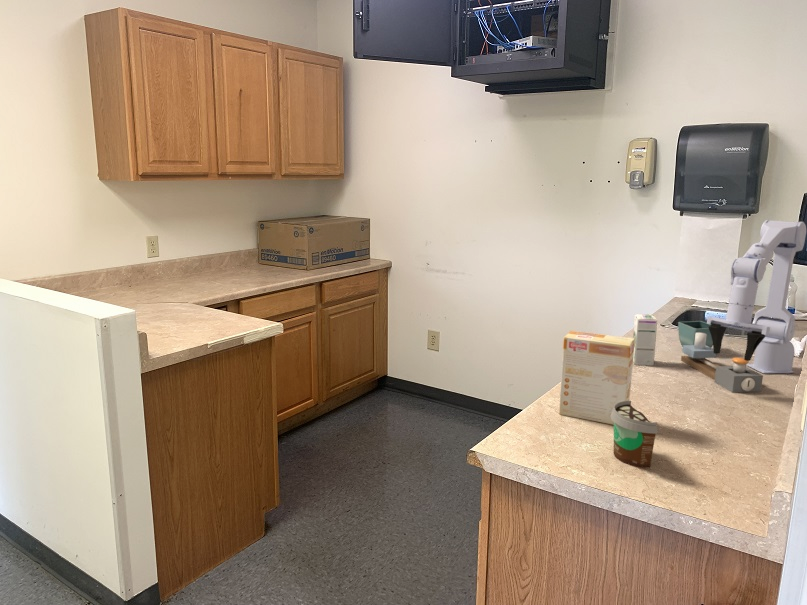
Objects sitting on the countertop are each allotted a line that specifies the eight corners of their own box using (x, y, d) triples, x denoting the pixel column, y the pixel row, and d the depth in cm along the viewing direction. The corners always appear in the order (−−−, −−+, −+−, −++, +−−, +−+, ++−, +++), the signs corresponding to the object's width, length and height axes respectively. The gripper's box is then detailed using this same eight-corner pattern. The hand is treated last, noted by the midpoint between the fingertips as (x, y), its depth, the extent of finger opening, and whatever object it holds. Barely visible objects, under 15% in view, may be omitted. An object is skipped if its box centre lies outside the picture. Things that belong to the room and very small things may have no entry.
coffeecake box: (628, 416, 143) (635, 338, 139) (623, 427, 137) (631, 345, 133) (565, 404, 150) (570, 329, 146) (558, 414, 144) (563, 336, 140)
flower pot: (716, 354, 192) (720, 327, 190) (692, 356, 190) (696, 328, 188) (697, 346, 200) (700, 320, 199) (674, 348, 199) (677, 321, 197)
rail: (699, 360, 186) (700, 352, 186) (735, 380, 169) (737, 371, 168) (680, 360, 186) (681, 352, 185) (715, 380, 168) (716, 372, 168)
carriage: (703, 351, 185) (706, 331, 183) (715, 357, 179) (718, 336, 177) (682, 352, 184) (684, 331, 183) (693, 358, 178) (695, 336, 177)
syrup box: (654, 366, 180) (658, 319, 177) (633, 364, 181) (637, 318, 178) (650, 360, 186) (655, 314, 183) (630, 359, 187) (634, 313, 184)
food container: (597, 444, 129) (601, 400, 127) (625, 443, 129) (629, 399, 127) (623, 472, 117) (627, 424, 115) (653, 471, 118) (658, 423, 115)
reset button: (741, 369, 165) (742, 357, 164) (750, 374, 161) (751, 361, 160) (727, 370, 164) (729, 357, 164) (736, 374, 161) (738, 361, 160)
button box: (741, 381, 168) (743, 365, 167) (761, 392, 160) (764, 376, 159) (714, 381, 167) (716, 366, 166) (733, 392, 159) (735, 376, 158)
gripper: (705, 299, 157) (696, 350, 158) (765, 309, 146) (755, 364, 147) (717, 300, 161) (708, 350, 163) (777, 309, 150) (766, 363, 152)
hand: (731, 356), depth 155 cm, fingers open, 7 cm apart
